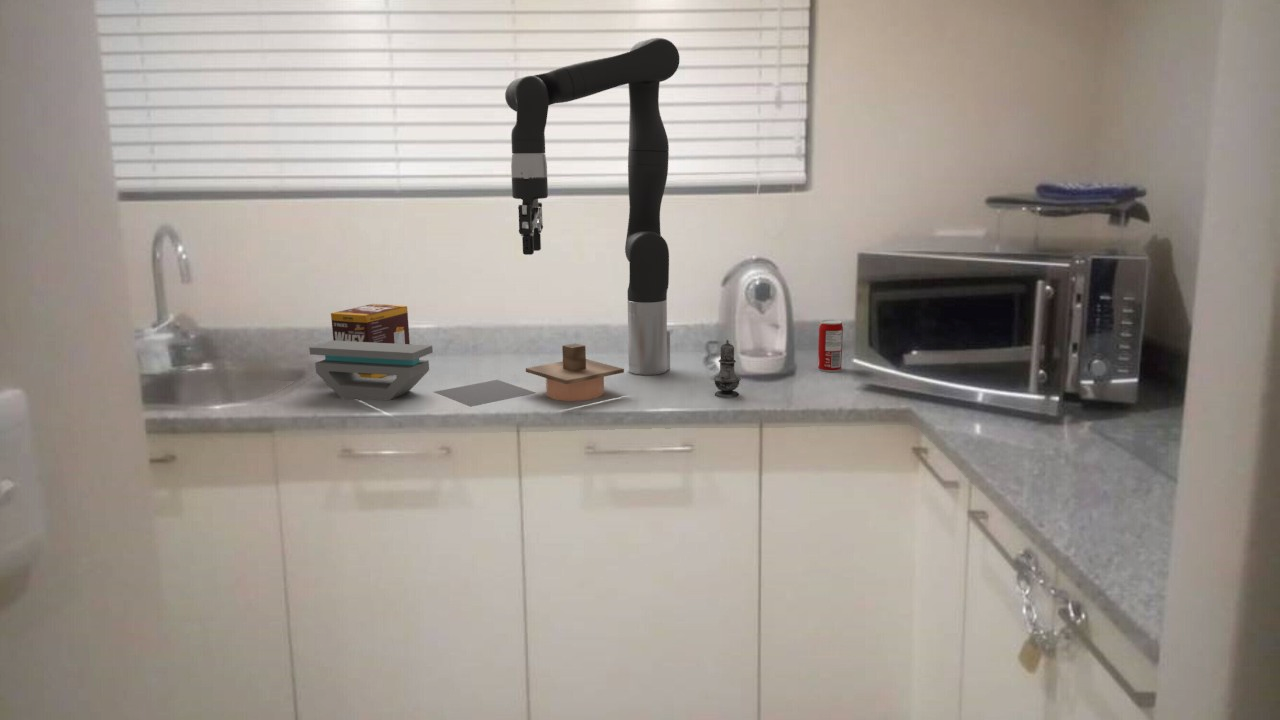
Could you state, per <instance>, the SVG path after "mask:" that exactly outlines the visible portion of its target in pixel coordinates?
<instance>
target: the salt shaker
mask: <svg viewBox="0 0 1280 720" xmlns="http://www.w3.org/2000/svg"><path fill="white" fill-rule="evenodd" d="M725 342H726V343H724V344H722V345H721V346H720V359H719V360H718V363H719V374H717V375H716V376H714V377H713V378H712V380H713V381H714V385H715V387H716V388H717V389H718V390H717V391H716V392H714V396H715V397H718V398H723V399H732V398H737V397H739V396H740V393H739V392H738V391H736V389H737V388H738V387H739V385H740V381H741V379H742V378H741V377H740V376H738V375H736V373H735V363H736V362H737V361H736V360H735V346H734V345H732V344H731V343H729V342H730V341H729V340H728V339H726V341H725Z"/></svg>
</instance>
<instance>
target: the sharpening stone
mask: <svg viewBox="0 0 1280 720" xmlns="http://www.w3.org/2000/svg"><path fill="white" fill-rule="evenodd" d="M308 349H309V355H311V356H313V355H315V356H324V358H325V359H322V360H319V361H317V362H314V363H315V373H316V375H318V376H319V377H320V378H321V379H322V381H324V382H325V384H327V385H328V387H330V389H331V390H333V392H335V394H336V395H337V396H338V397H339V398H340V399H341V400H342V399H343V400H355V401H356V400H359V401H361V399H365V400H366V399H369V400H383V401H384V400H385V401H391V400H393V399H395V398H397V397H400V396H401V395H404V394H406V393H408V392H411V390H412V389H413V388H414V387H415V386H416V384H417V385H418V383H419V381H420V380H422V378H424V376H425V375H426V374H427V373H429V371H430V363H429V360H427V359H421V358H422V357H426V356H427V355H430V354H432V353H433V345H428V344H427V345H426V344H392V343H373V342H353V341H334V340H332V339H331V340H329V341H325V342H322V343H319V344H316V345H313V346H310V347H309V348H308ZM358 373H367V374H383V375H387V376H396V378H394V379H392V378H365V377H361V376H360V375H359V374H358Z"/></svg>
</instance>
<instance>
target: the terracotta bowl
mask: <svg viewBox="0 0 1280 720" xmlns="http://www.w3.org/2000/svg"><path fill="white" fill-rule="evenodd" d="M604 384H605V380H604V377H600V378H595V379H590V380H585V381H581V382H576V383H571V384H564V383H561V382H557V381H554V380H551V379H548V378H545V388H546V391H545V392H546V396H547V398H551V399H553V400H556V401H568V402H577V401H588V400H592V399H597V398H600V396H602V395H604V394H605V385H604Z"/></svg>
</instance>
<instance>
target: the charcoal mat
mask: <svg viewBox="0 0 1280 720" xmlns="http://www.w3.org/2000/svg"><path fill="white" fill-rule="evenodd" d="M434 393H435V394H437V395H441V396H443V397H445V398H448V399H450V400H453V401H456V402H458V403H461V404H463V405H466V406H468V407H476V406H479V405H480V406H481V405H484V404H485V405H486V404H489V403H494V402H498V401H505V400H509V399H510V400H511V399H514V398H518V397H523V396H528V395H533V394H536V393H537V392H535V391H532V390H529V389H526V388H523V387H521V386H518V385H514V384H512V383H508V382H505V381H502V380H499V379H494V380H489V381H483V382H479V383H478V382H477V383H474V384H473V383H472V384H467V385H462V386H458V387H452V388H446V389H441V390H440V389H439V390H437V391H434Z"/></svg>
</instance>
